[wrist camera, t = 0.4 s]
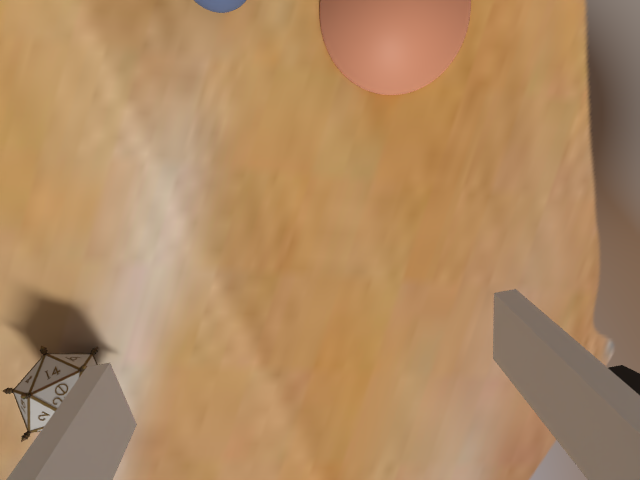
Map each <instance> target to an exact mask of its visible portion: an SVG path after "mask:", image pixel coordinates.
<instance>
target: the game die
mask: <svg viewBox="0 0 640 480" xmlns="http://www.w3.org/2000/svg"><path fill="white" fill-rule="evenodd" d="M97 349H98V347H96V348H94V349H93V350H91V353H90V354H78V353H47V350H46V348H45V347H43V346H41V350H40V351H41V353H42V354H43V356H42V357H41V359H40V360H39V361H38V362H37V363H36V364H35V366H34V367H33V368H32V369H31V370H30V371H29V372H28V374H27V375H26V376H25V377H24V378H23V379H22V380H21V382H20V383H19V384H18V385H17V386H16V387H15V388H14V389H12V388H7V389H5V390H3V392H5V393H6V394H7V393H9V394H10V393H13V394H14V396H15V399H16V402H17V404H18V407H19V409H20V412H21V415H22V417H23V420H24V423H25V425H26V428H27V430H28V431H27V432H26V433H24V435H23V436H22V440H21V442H22V441H24V440H26V439H28V437H29V435H30V433H32V432H40V431H42V429H43V428H44V426H45V425H46V424H47V422H48V421H49V419H50V418H51V417H52V415H53V414H54V412H55V411H56V410H57V408H58V407H59V405H60V404H61V403H62V401H63V400H64V398H65V397H66V396H67V394H68V393H69V391H70V390H71V389H72V387H73V386H74V384H75V383H76V382H77V380H78V379H79V377H80V376H81V375H82V373H83V372H84V370H85V369H86V368H87V367H89V366H95V365H97V363H96V360H95V358H94V356H93V355H94V354H96V352H97Z"/></svg>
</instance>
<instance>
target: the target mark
mask: <svg viewBox="0 0 640 480" xmlns="http://www.w3.org/2000/svg"><path fill="white" fill-rule="evenodd" d="M470 11H471V0H320V24H321V31H322V35H323V40H324V43H325V45H326V48H327V51H328V53H329V55H330V57H331V59H332V60H333V62H334V63H335V65H336V66H337V68H338V69H339V70H340V71H341V72H342V73H343V75H344V76H345V77H347V78H348V79H349V80H350V81H351V82H353V83H354V84H356V85H357V86H359V87H361V88H363V89H365V90H367V91H370V92H374V93H377V94H384V95H399V94H405V93H409V92H412V91H415V90H418V89H420V88H422V87H424V86H426V85H427V84H429V83H431V82H432V81H433V80H435V79H436V78H437V77H439V76H440V75H441V74H442V73H443V72H444V71H445V70H446V69H447V67H448V66H449V65H450V64H451V62H452V61H453V60H454V58H455V56H456V55H457V53H458V52H459V50H460V47H461V45H462V43H463V41H464V38H465V35H466V32H467V29H468V24H469V20H470Z"/></svg>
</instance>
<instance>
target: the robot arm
mask: <svg viewBox="0 0 640 480" xmlns="http://www.w3.org/2000/svg"><path fill="white" fill-rule="evenodd" d="M493 359H494V360H495V361H496V363H497V364H498V365H499V367H500V368H501V369H502V370H503V372H504V373H505V374H506V376H507V377H508V378H509V379H510V381H511V382H512V383H513V384H514V386H515V387H516V388H517V390H518V391H519V392H520V393H521V395H522V396H523V397H524V399H525V400H526V401H527V402H528V404H529V405H530V406H531V408H532V409H533V410H534V411H535V413H536V414H537V415H538V417H539V418H540V419H541V420H542V422H543V423H544V424H545V425H546V427H547V428H548V429H549V431H550V432H551V433H552V434H553V436H554V437H555V438H556V440H557V441H558V442H559V443H560V445H561V446H562V447H563V449H564V450H565V451H566V452H567V454H568V455H569V456H570V457H571V459H572V460H573V461H574V463H575V464H576V465H577V466H578V468H579V469H580V470H581V472H582V473H583V474H584V475H585V477H586V478H587V479H588V480H640V374H639V373H637V372H635V371H633V370H631V369H629V368H627V367H625V366H623V365H621V366H615V367H610V368H607V367H606V366H605V365H604V364H602V363H601V362H600V361H599V360H598V359H597V358H595V357H594V356H593V355H592V354H591V353H590V352H588V351H587V350H586V349H585V348H584V347H583V346H581V345H580V344H579V343H578V342H577V341H576V340H574V339H573V338H572V337H571V336H570V335H569V334H567V333H566V332H565V331H564V330H563V329H562V328H560V327H559V326H558V325H557V324H556V323H555V322H553V321H552V320H551V319H550V318H549V317H548V316H546V315H545V314H544V313H543V312H542V311H541V310H539V309H538V308H537V307H536V306H535V305H534V304H532V303H531V302H530V301H529V300H528V299H527V298H525V297H524V296H523V295H522V294H521V293H520V292H518V291H517V290H516V289H514V290H509V291H503V292H498V293H494V331H493ZM136 425H137V424H136V421H135V419H134V417H133V415H132V412H131V410H130V408H129V405H128V403H127V401H126V398H125V396H124V394H123V392H122V389H121V387H120V385H119V382H118V380H117V378H116V375H115V373H114V371H113V369H112V366H111V364H110V363H106V364H100V365H95V366H89V367H87V368H86V369H85V370H84V372H83V373H82V375H81V376H80V377H79V379H78V380H77V382H76V383H75V384H74V386H73V387H72V389H71V390H70V391H69V393H68V394H67V396H66V397H65V398H64V400H63V401H62V403H61V404H60V405H59V407H58V408H57V410H56V411H55V412H54V414H53V415H52V417H51V418H50V419H49V421H48V422H47V424H46V425H45V426H44V428H43V429H42V431H41V432H40V433H39V435H38V436H37V438H36V439H35V440H34V442H33V443H32V445H31V446H30V447H29V449H28V450H27V452H26V453H25V454H24V456H23V457H22V459H21V460H20V461H19V463H18V464H17V466H16V467H15V468H14V470H13V471H12V473H11V474H10V475H9V477H8V478H7V480H113V477H114V475H115V473H116V470H117V468H118V466H119V464H120V461H121V459H122V457H123V455H124V452H125V450H126V448H127V446H128V443H129V441H130V439H131V436H132V434H133V432H134V430H135V427H136Z"/></svg>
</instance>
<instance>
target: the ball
mask: <svg viewBox="0 0 640 480" xmlns="http://www.w3.org/2000/svg"><path fill="white" fill-rule="evenodd" d="M194 1H195V2H196V3H198V4H199V5H200V6H202V7H203V8H205V9H207V10H210V11H213V12H218V13H225V12H230V11H233V10H235V9H237V8H239V7H240V6H241V5H242V4H243V3H244V2H245V1H246V0H194Z"/></svg>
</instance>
